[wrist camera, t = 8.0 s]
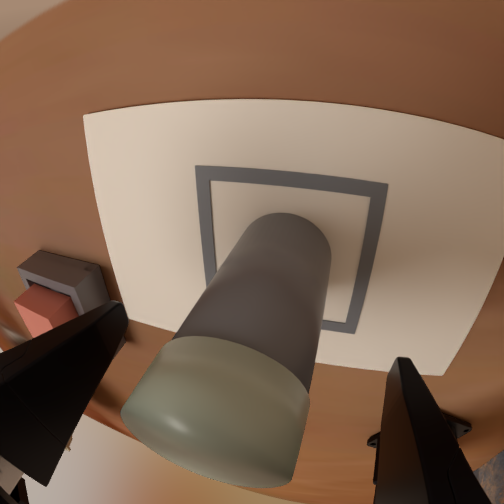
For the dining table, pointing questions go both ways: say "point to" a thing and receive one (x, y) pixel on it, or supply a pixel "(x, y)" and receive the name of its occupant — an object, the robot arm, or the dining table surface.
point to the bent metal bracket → (492, 478)
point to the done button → (44, 309)
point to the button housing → (67, 280)
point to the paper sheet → (307, 214)
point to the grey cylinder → (241, 361)
